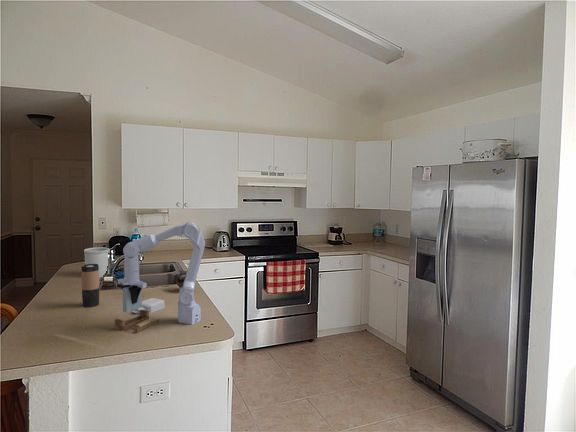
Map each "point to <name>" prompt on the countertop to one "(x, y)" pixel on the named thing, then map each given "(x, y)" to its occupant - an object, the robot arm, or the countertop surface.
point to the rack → (130, 324)
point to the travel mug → (90, 285)
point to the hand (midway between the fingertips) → (132, 302)
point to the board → (128, 302)
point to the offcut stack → (142, 323)
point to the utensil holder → (97, 258)
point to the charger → (151, 305)
